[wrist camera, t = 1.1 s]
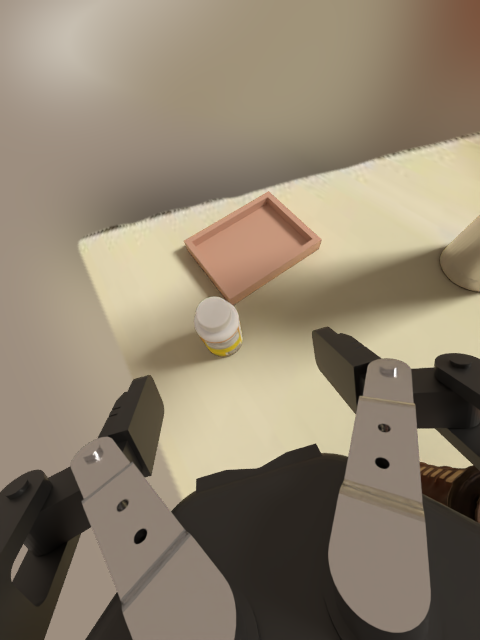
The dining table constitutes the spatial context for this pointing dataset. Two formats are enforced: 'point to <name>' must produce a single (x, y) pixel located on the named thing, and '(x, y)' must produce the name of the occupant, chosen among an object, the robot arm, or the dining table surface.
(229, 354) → the supplement bottle
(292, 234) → the tray
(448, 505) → the coffee cup
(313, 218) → the dining table surface
